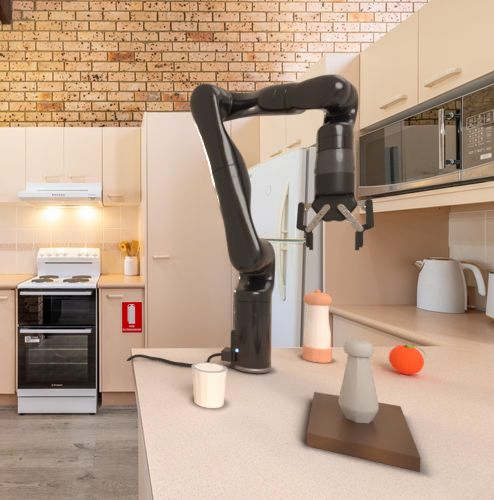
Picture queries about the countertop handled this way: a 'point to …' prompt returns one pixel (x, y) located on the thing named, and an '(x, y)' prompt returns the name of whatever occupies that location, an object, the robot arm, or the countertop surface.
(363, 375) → the salt shaker
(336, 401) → the cutting board
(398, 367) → the clementine
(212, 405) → the white short cylinder
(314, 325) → the pepper shaker
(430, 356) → the countertop surface
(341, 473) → the countertop surface
